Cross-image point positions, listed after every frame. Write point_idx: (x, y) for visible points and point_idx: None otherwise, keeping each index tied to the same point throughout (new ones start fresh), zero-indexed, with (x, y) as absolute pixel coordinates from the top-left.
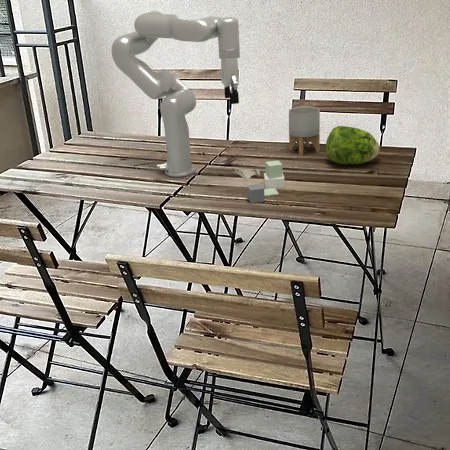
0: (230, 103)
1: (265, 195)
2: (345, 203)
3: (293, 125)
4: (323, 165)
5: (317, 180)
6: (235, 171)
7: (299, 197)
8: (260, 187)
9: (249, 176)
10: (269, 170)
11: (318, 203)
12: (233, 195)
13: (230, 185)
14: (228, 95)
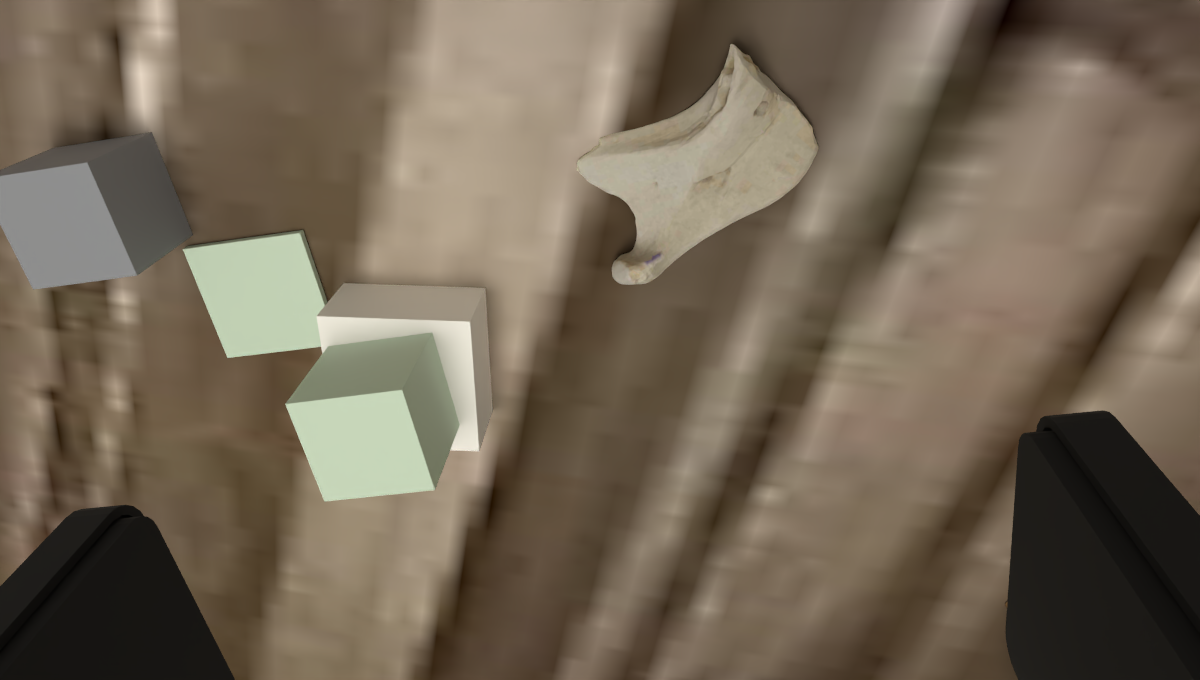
0: (77, 512)
1: (191, 268)
2: None
3: None
4: (748, 671)
5: (479, 595)
6: (722, 74)
7: (190, 460)
8: (53, 265)
9: (623, 189)
10: (301, 385)
11: None
12: (203, 18)
13: (441, 2)
14: (1053, 582)
